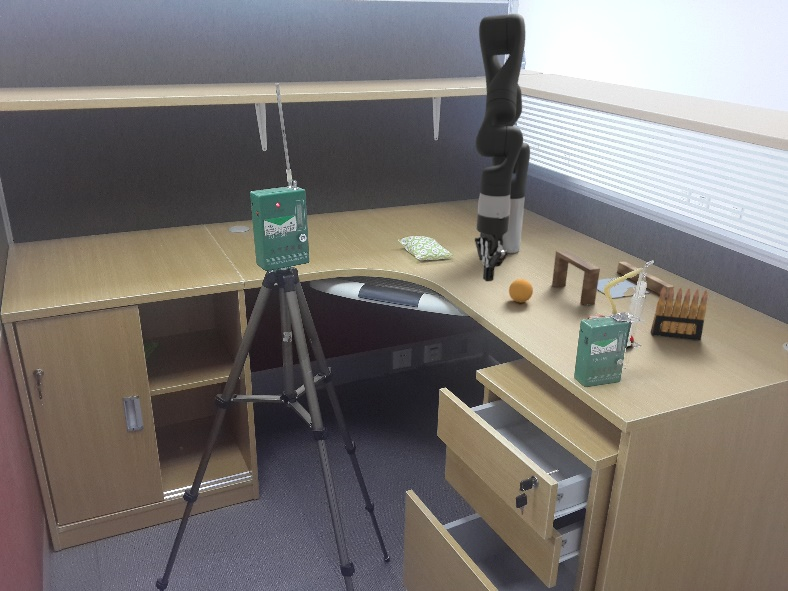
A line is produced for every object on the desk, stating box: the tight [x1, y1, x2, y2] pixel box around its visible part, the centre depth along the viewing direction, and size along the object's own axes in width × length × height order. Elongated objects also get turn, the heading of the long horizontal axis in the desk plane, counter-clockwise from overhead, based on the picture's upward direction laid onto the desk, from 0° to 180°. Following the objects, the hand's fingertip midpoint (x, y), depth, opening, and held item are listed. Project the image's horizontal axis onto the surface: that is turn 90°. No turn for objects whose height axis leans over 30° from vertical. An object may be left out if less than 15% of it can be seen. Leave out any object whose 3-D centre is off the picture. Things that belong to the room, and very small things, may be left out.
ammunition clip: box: [650, 286, 708, 341], centre depth 150 cm, size 11×2×12 cm, turn 77°
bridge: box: [551, 249, 601, 306], centre depth 173 cm, size 3×15×10 cm, turn 20°
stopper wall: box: [616, 261, 675, 299], centre depth 182 cm, size 20×2×3 cm, turn 21°
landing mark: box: [597, 276, 650, 300], centre depth 179 cm, size 12×12×1 cm
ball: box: [508, 278, 534, 303], centre depth 168 cm, size 6×6×6 cm
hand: (488, 280), depth 163 cm, fingers closed
